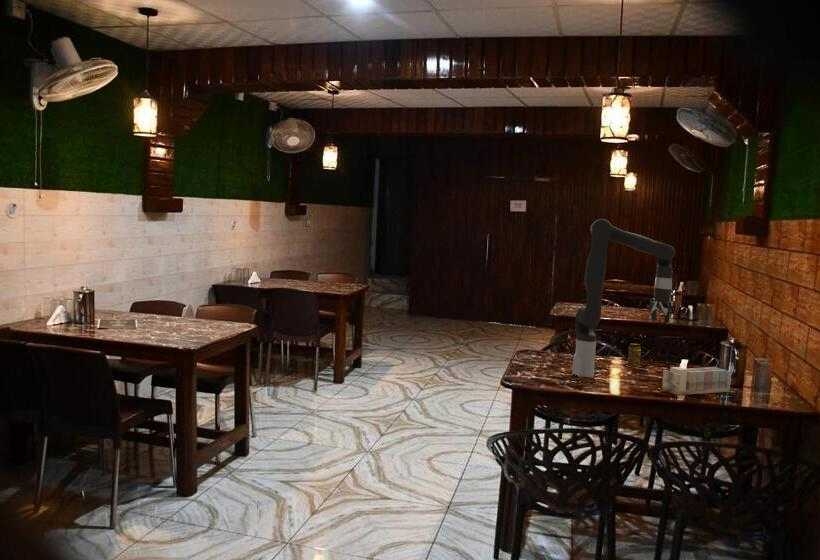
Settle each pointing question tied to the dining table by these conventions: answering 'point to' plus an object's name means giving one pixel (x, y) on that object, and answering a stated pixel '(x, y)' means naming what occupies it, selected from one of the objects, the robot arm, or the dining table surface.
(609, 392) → the dining table surface
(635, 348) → the condiment
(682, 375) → the cream block
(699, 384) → the pastel slab stack
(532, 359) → the dining table surface
